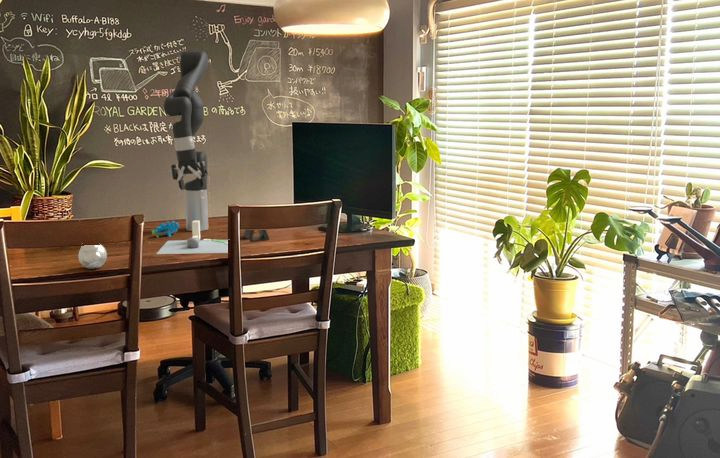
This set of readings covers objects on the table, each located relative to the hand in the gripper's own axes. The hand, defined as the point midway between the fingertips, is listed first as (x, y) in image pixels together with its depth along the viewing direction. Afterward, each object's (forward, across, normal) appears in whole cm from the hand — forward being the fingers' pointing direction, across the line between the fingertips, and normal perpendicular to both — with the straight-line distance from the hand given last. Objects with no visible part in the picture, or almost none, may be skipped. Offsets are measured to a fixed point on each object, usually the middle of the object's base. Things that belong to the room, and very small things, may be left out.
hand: (192, 188), depth 285 cm
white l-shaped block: (+18, -7, +19) cm, 27 cm away
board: (+19, -10, +23) cm, 31 cm away
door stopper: (+23, -24, 0) cm, 33 cm away
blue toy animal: (+18, +12, +7) cm, 23 cm away
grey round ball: (+15, +9, +59) cm, 61 cm away
